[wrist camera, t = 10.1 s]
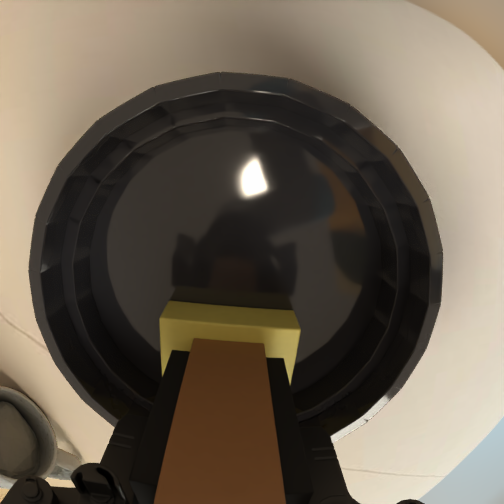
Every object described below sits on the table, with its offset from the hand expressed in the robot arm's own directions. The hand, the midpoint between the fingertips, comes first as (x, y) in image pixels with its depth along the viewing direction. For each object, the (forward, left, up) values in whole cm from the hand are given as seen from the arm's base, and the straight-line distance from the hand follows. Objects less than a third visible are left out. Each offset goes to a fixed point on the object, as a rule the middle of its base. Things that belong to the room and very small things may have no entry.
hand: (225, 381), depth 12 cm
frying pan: (0, -3, -4) cm, 5 cm away
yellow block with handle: (0, 0, -3) cm, 3 cm away
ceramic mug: (+16, +12, -4) cm, 20 cm away
